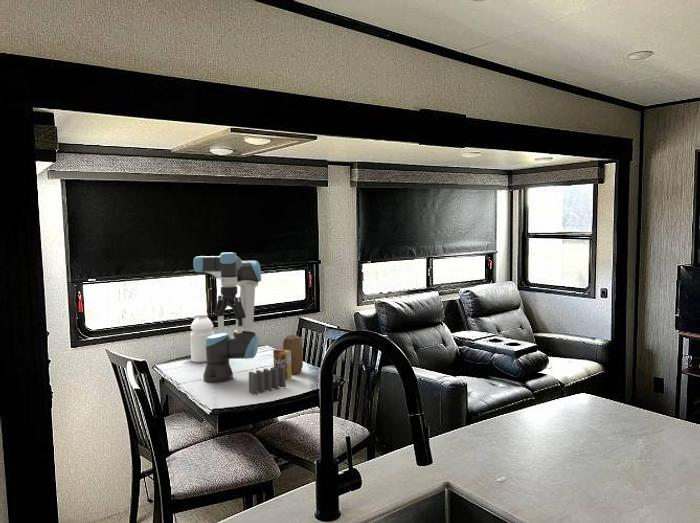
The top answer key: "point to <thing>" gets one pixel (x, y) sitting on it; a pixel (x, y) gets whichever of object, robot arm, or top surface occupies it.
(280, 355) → the candy box
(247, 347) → the robot arm
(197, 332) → the bottle
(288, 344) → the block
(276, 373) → the domino
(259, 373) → the domino
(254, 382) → the domino
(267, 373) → the domino
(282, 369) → the domino
